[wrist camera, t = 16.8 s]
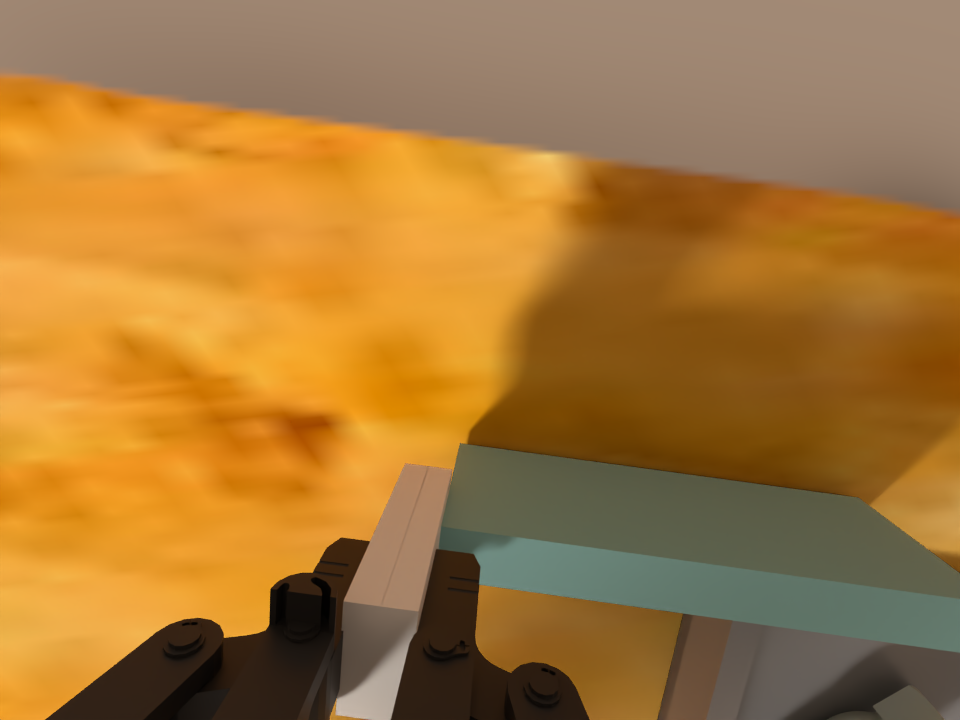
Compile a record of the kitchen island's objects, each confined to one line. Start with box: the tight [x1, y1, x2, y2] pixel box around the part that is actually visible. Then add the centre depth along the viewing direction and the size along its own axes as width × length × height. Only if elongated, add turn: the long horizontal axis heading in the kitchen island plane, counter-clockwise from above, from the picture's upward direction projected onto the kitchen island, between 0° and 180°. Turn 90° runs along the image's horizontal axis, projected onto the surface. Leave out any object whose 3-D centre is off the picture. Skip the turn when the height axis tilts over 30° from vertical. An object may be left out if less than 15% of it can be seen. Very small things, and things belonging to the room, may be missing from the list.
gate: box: [439, 443, 960, 653], centre depth 17 cm, size 2×15×6 cm, turn 83°
